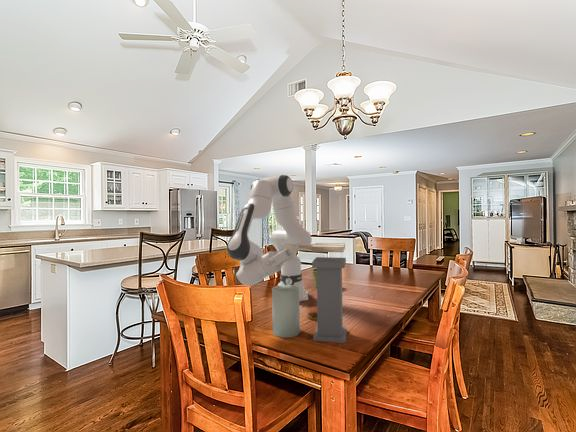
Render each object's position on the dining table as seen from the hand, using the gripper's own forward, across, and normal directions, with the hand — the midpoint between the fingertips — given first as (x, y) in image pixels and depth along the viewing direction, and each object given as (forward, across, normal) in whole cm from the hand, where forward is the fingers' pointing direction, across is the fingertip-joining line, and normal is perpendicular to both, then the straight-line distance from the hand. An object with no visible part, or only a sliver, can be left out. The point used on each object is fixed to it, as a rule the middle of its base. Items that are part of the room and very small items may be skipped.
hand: (300, 245), depth 126 cm
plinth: (-8, 0, +36) cm, 37 cm away
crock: (-23, 0, +27) cm, 36 cm away
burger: (-14, +20, +33) cm, 41 cm away
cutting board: (+4, 0, +4) cm, 5 cm away
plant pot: (-19, +75, +30) cm, 83 cm away
